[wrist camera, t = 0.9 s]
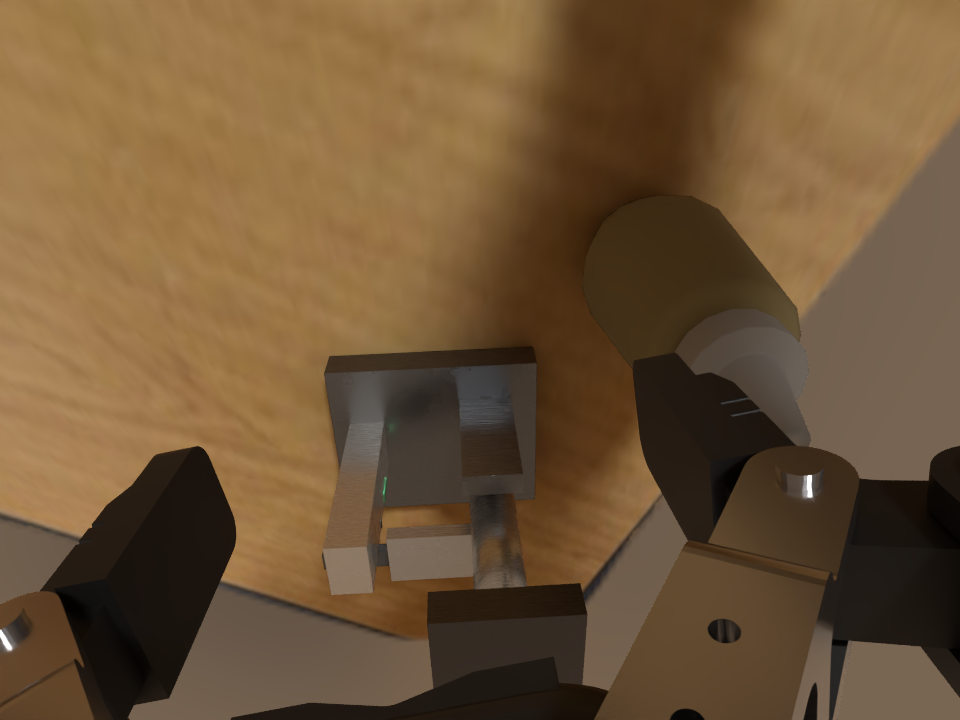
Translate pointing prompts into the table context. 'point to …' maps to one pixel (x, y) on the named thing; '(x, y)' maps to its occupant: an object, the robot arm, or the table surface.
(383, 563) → the peak pointer
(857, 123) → the table surface
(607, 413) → the table surface
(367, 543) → the frame
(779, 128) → the table surface
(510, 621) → the dark grey blocky piece
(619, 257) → the squeeze bottle
